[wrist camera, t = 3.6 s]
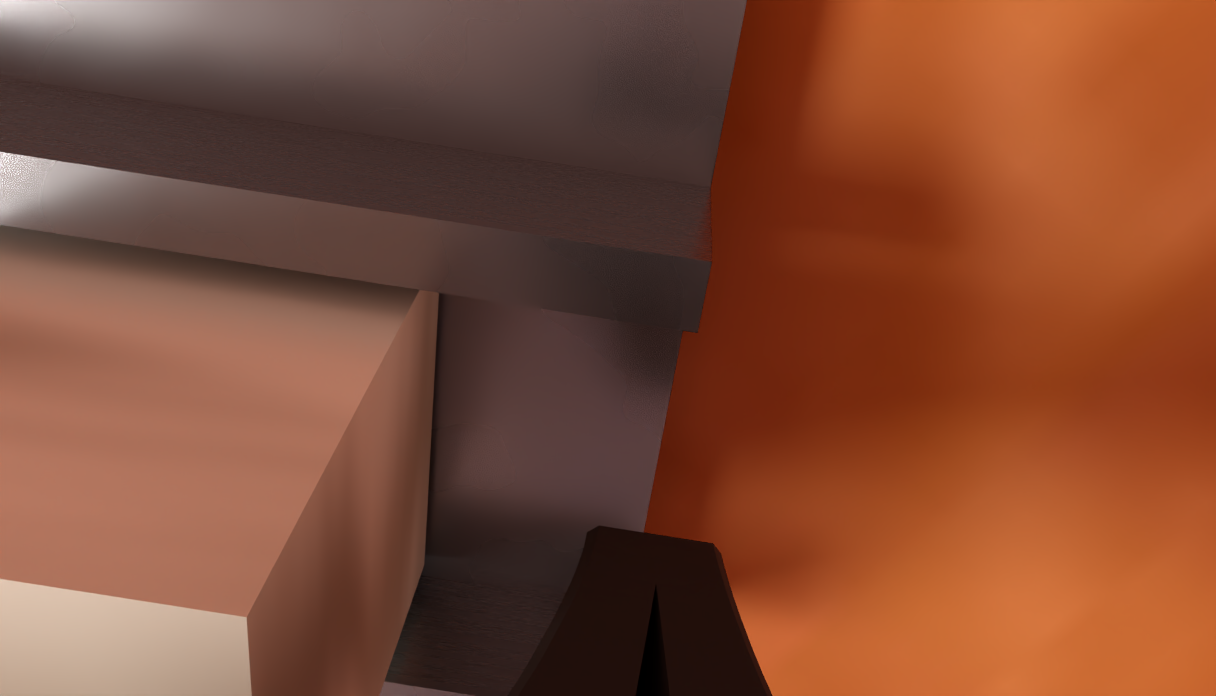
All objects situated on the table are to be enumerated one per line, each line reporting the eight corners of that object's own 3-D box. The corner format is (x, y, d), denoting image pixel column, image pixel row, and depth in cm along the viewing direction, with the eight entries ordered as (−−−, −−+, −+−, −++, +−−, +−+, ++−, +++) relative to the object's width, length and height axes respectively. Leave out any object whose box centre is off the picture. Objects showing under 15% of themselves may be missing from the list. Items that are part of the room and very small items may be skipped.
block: (423, 564, 15) (272, 1006, 10) (78, 511, 15) (-261, 922, 10) (441, 248, 12) (246, 616, 7) (23, 183, 12) (-480, 504, 7)
